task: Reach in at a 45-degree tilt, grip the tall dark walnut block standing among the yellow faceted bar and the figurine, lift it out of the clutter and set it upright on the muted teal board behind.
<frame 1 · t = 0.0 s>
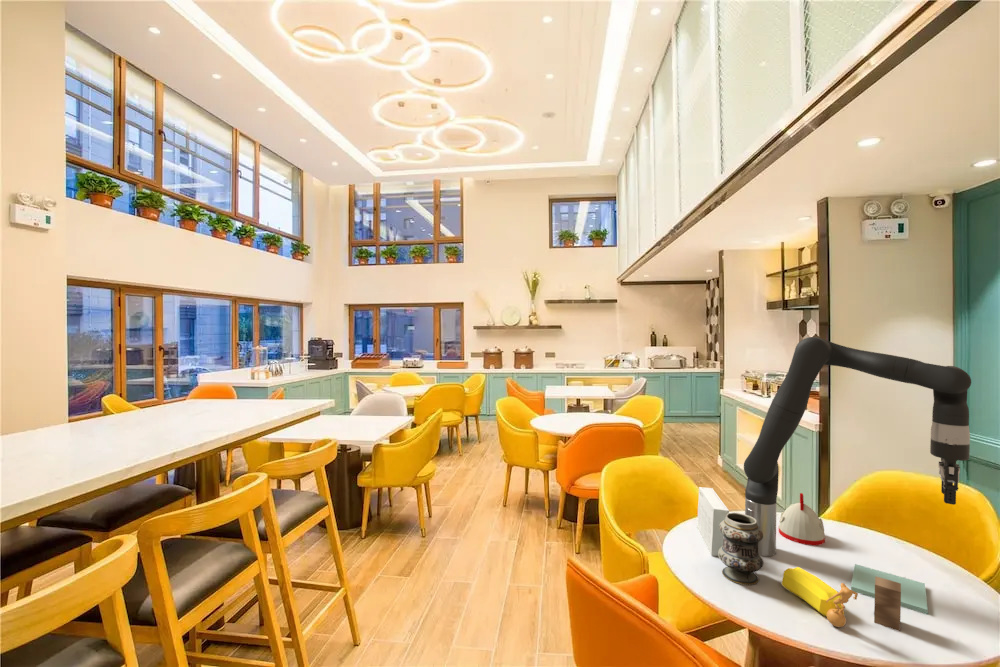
hand: (948, 498, 122), 29 cm above the table, tool pointing down, fingers open, 8 cm apart
skincare box: (711, 542, 158), on the table
figurine: (839, 628, 113), on the table
teal board: (888, 588, 130), on the table
apothecary jar: (739, 576, 137), on the table
yellow faceted bar: (811, 601, 125), on the table
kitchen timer: (801, 536, 162), on the table
walnut block: (887, 622, 116), on the table
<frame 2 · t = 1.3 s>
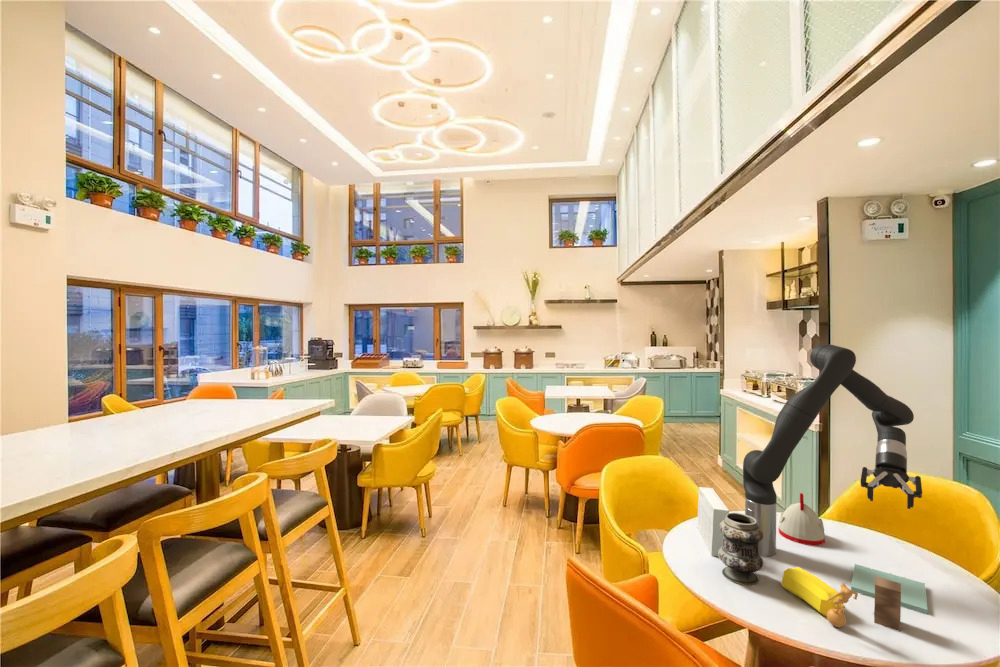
hand: (889, 503, 135), 23 cm above the table, tool tilted 45°, fingers open, 8 cm apart
nothing on the table moved.
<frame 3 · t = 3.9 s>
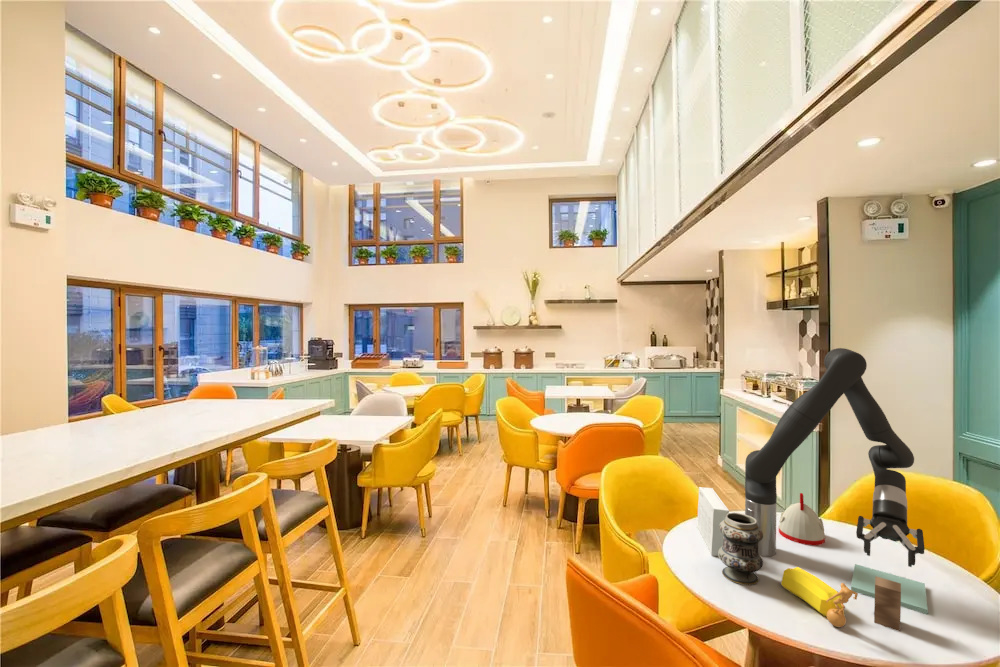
hand: (888, 560, 122), 13 cm above the table, tool tilted 45°, fingers open, 8 cm apart
nothing on the table moved.
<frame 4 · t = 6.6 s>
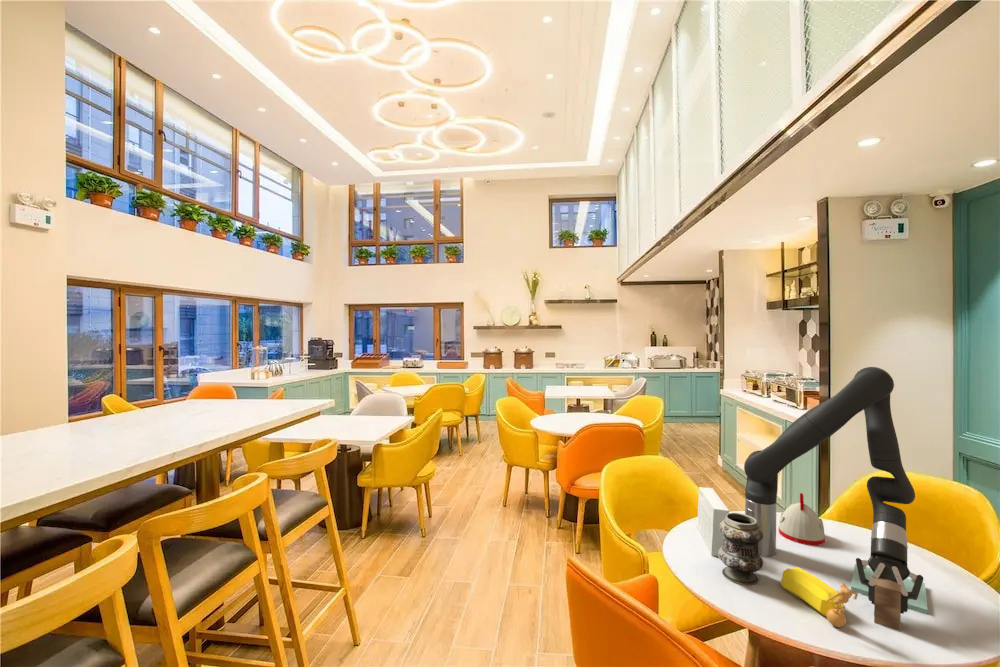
hand: (887, 607, 114), 5 cm above the table, tool tilted 45°, fingers closed on walnut block, 5 cm apart
walnut block: (887, 622, 116), on the table, touching gripper
everything else where it was.
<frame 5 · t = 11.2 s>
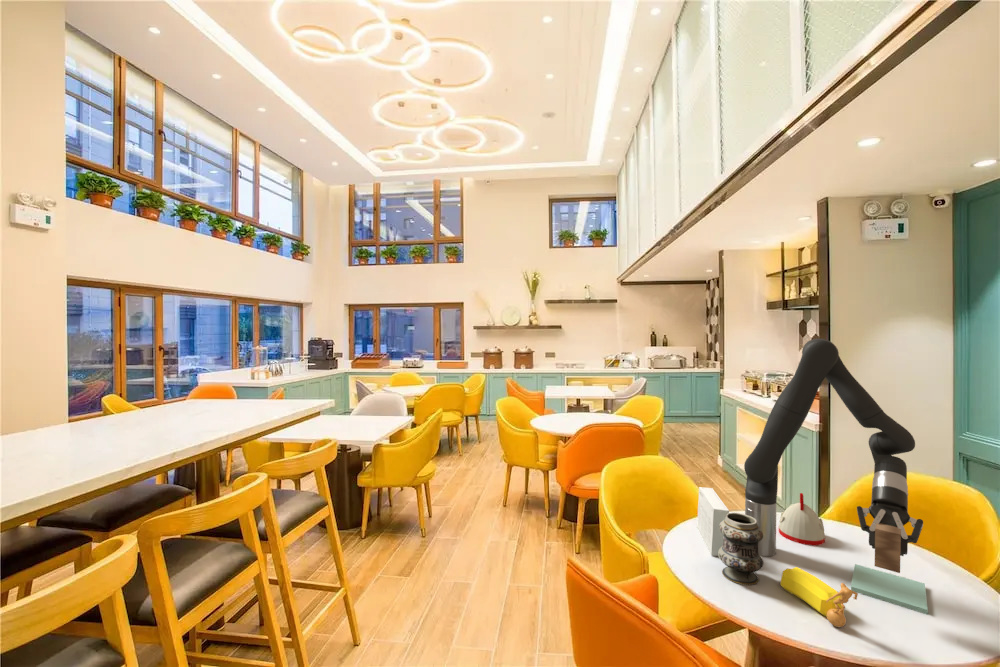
hand: (887, 550, 116), 18 cm above the table, tool tilted 45°, fingers closed on walnut block, 5 cm apart
walnut block: (887, 565, 118), point 13 cm above the table, touching gripper
everything else where it was.
when the fingers open (7 cm above the table, at t = 15.6 s): walnut block drops 1 cm, resting on teal board.
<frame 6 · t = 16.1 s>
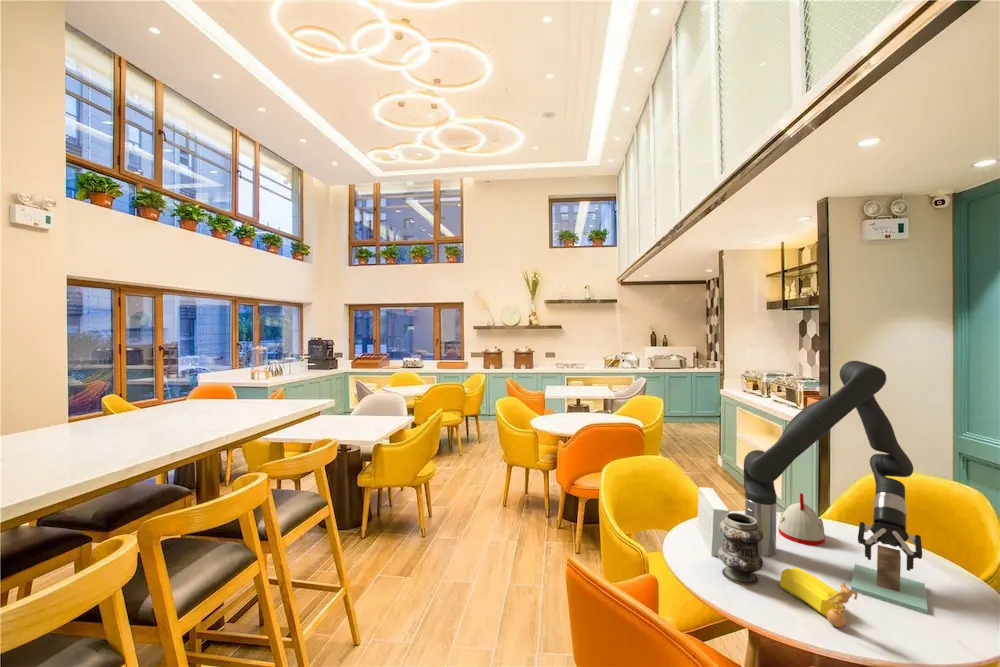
hand: (888, 564, 129), 8 cm above the table, tool tilted 45°, fingers open, 8 cm apart
walnut block: (888, 584, 130), point 1 cm above the table, touching teal board
everything else where it was.
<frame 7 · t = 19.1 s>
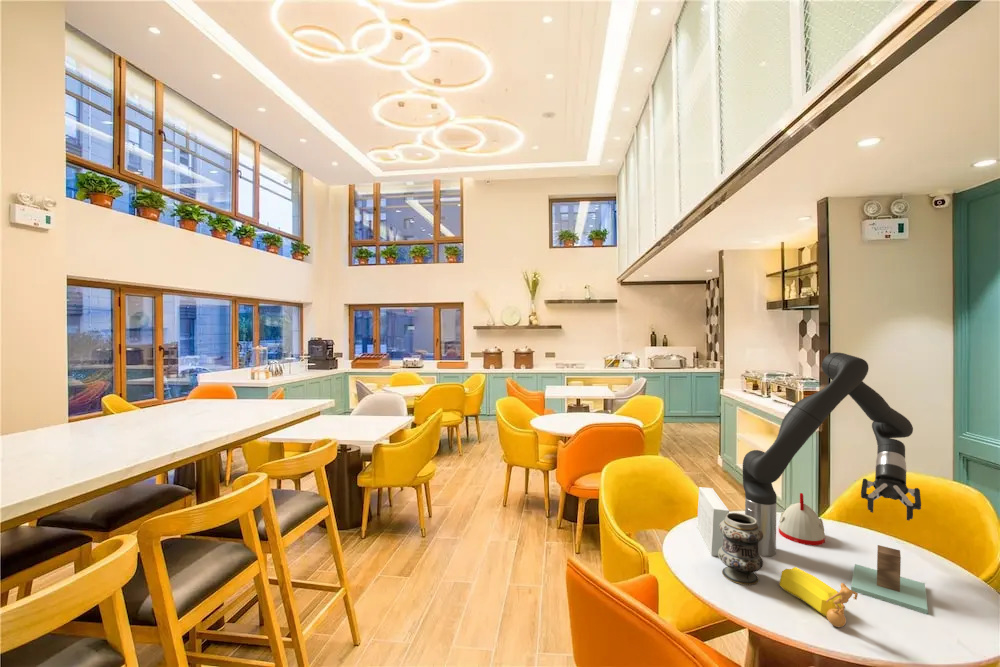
hand: (889, 515, 138), 18 cm above the table, tool tilted 45°, fingers open, 8 cm apart
nothing on the table moved.
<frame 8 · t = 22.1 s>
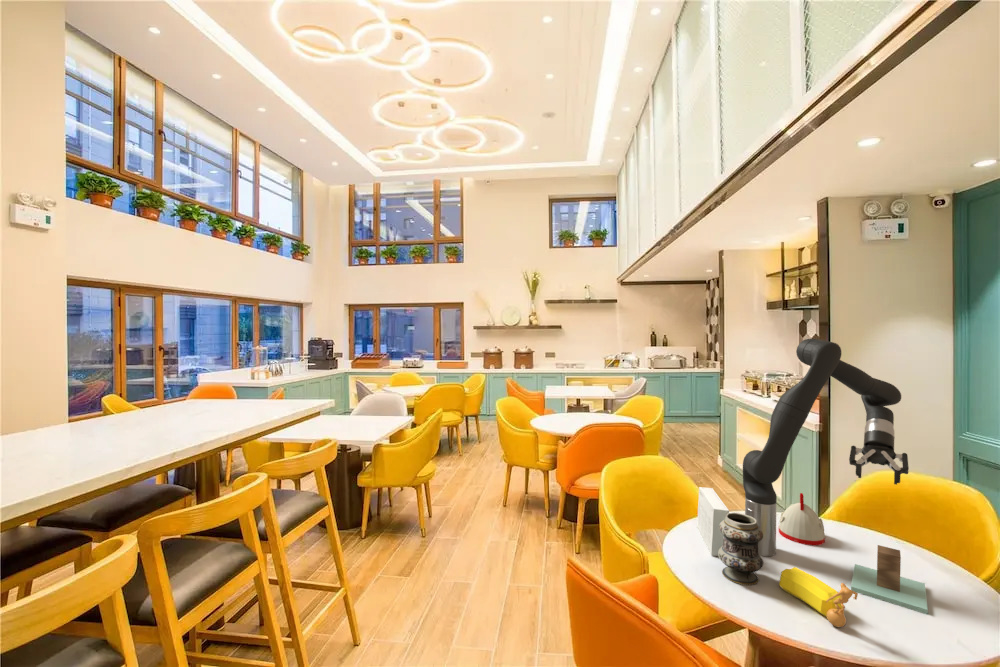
hand: (877, 479, 138), 29 cm above the table, tool tilted 45°, fingers open, 8 cm apart
nothing on the table moved.
at the end: walnut block inside the target area on the teal board (0.0 cm from its centre), point 1.2 cm above the teal board's base; walnut block tilted 0°; figurine moved 0.2 cm from its start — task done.
